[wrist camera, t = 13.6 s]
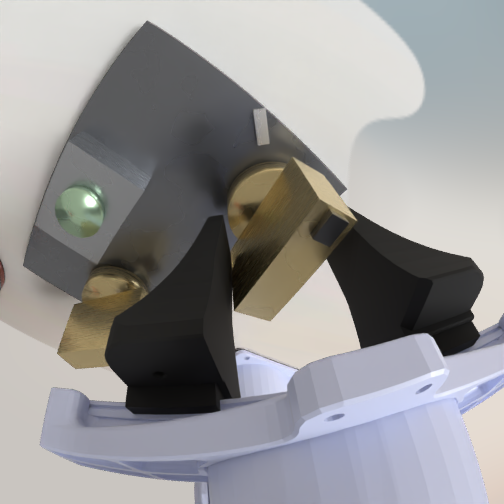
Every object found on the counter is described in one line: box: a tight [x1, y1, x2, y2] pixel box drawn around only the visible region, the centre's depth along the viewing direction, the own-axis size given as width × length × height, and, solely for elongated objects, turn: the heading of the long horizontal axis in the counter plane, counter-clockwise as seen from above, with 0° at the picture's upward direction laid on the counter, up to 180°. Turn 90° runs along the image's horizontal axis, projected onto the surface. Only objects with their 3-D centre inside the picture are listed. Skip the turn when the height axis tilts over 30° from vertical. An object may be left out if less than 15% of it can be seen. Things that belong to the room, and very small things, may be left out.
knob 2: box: [227, 157, 358, 321], centre depth 11 cm, size 5×4×5 cm
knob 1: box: [57, 266, 148, 369], centre depth 14 cm, size 5×4×5 cm
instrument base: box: [23, 21, 347, 302], centre depth 13 cm, size 12×16×3 cm
